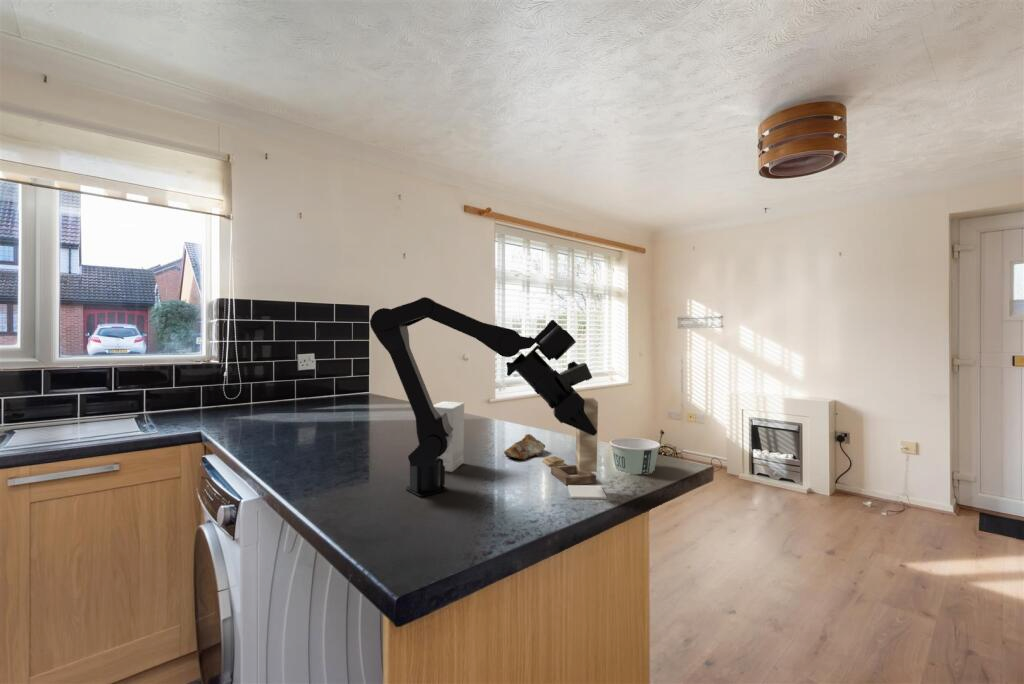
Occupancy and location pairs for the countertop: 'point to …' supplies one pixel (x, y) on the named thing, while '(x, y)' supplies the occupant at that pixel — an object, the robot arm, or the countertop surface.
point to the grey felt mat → (586, 492)
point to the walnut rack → (563, 476)
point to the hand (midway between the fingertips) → (593, 430)
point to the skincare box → (453, 433)
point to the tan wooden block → (587, 440)
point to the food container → (634, 455)
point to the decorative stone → (525, 448)
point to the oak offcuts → (553, 461)
